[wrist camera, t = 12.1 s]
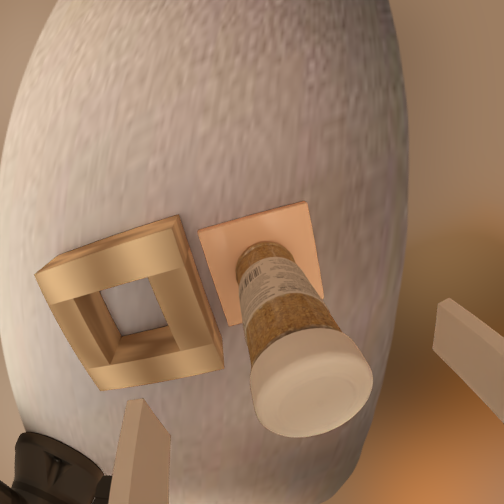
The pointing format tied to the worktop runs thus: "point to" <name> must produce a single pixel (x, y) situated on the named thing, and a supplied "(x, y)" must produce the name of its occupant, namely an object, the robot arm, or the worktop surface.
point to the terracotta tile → (253, 232)
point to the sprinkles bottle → (296, 348)
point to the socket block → (168, 296)
